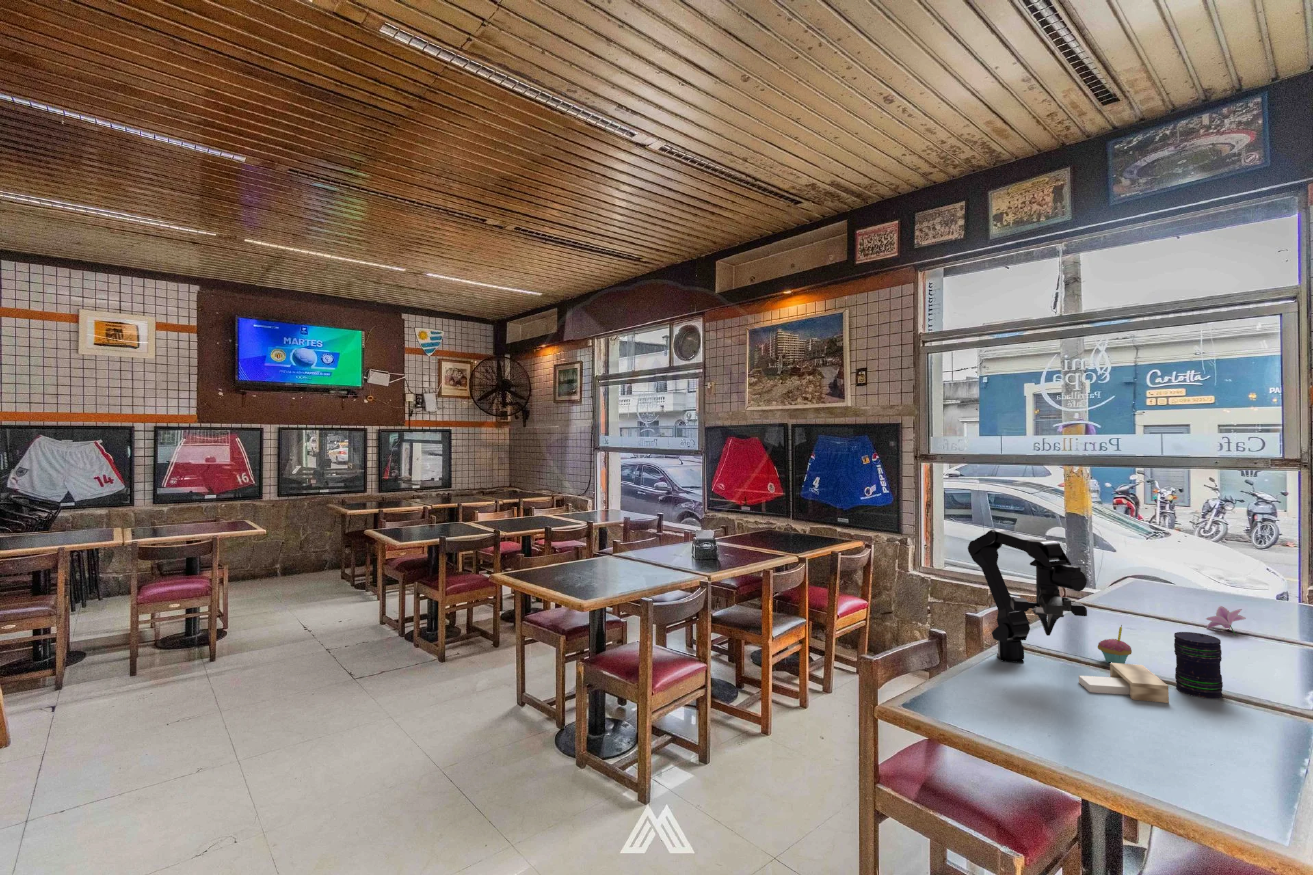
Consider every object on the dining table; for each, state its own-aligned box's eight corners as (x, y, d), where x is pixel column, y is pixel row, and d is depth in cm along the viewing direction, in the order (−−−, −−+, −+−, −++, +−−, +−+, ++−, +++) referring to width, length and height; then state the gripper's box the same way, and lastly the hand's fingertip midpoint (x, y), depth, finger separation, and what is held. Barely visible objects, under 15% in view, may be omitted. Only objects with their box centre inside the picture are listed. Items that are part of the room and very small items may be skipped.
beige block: (1132, 699, 165) (1132, 682, 165) (1110, 677, 180) (1109, 662, 180) (1168, 702, 162) (1168, 685, 163) (1143, 680, 178) (1142, 665, 178)
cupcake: (1126, 659, 195) (1124, 621, 195) (1137, 668, 187) (1135, 629, 187) (1094, 656, 198) (1093, 619, 198) (1103, 665, 190) (1102, 626, 190)
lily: (1254, 636, 218) (1240, 609, 223) (1257, 630, 210) (1242, 602, 215) (1212, 641, 224) (1199, 615, 229) (1212, 636, 216) (1199, 609, 221)
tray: (1090, 693, 171) (1089, 684, 171) (1079, 684, 177) (1078, 675, 177) (1156, 698, 167) (1156, 688, 167) (1143, 688, 174) (1142, 679, 174)
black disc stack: (1212, 701, 163) (1211, 645, 163) (1168, 689, 171) (1166, 635, 172) (1230, 694, 167) (1228, 638, 167) (1185, 682, 176) (1184, 629, 176)
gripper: (1017, 587, 180) (1017, 640, 180) (1093, 592, 173) (1093, 647, 173) (1009, 578, 190) (1010, 628, 190) (1080, 582, 184) (1081, 635, 184)
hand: (1047, 635), depth 184 cm, fingers closed
